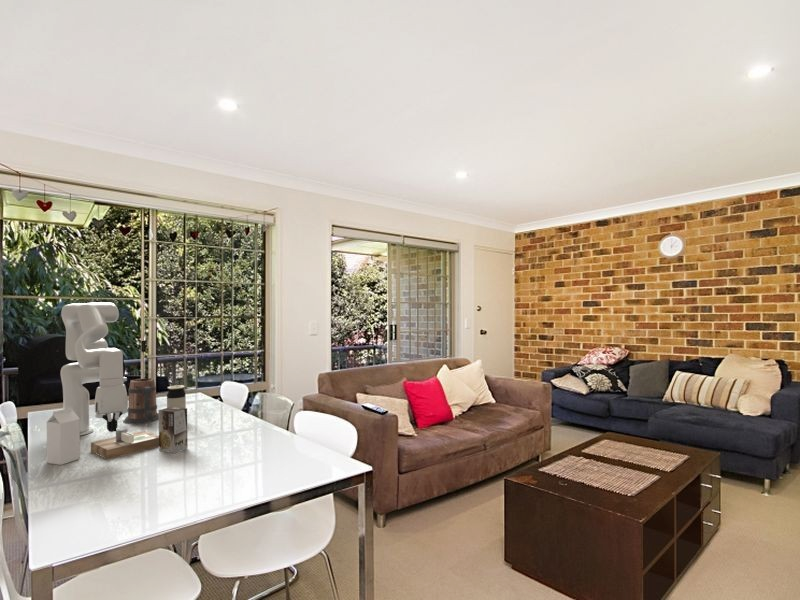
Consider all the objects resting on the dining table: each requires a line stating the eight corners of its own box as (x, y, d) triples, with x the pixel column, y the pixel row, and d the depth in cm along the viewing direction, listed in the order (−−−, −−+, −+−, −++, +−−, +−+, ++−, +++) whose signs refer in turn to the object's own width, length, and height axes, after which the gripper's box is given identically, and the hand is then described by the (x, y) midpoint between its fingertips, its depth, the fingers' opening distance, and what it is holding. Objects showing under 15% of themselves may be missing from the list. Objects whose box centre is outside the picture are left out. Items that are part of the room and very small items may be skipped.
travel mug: (169, 427, 214) (169, 388, 214) (165, 424, 220) (164, 386, 220) (187, 424, 219) (187, 386, 219) (182, 421, 225) (182, 384, 225)
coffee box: (188, 448, 182) (188, 408, 182) (174, 453, 177) (174, 411, 177) (172, 445, 186) (172, 406, 186) (158, 450, 180) (157, 409, 180)
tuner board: (91, 451, 181) (90, 441, 181) (144, 438, 196) (144, 430, 197) (107, 459, 171) (107, 449, 171) (162, 445, 187) (162, 436, 187)
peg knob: (114, 440, 182) (114, 430, 182) (125, 437, 185) (124, 428, 185) (125, 445, 175) (125, 434, 175) (136, 442, 179) (136, 432, 179)
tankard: (119, 419, 230) (119, 379, 230) (156, 413, 241) (156, 375, 241) (129, 428, 213) (129, 385, 213) (169, 422, 224) (168, 381, 224)
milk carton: (80, 459, 172) (79, 408, 172) (60, 465, 165) (60, 412, 165) (66, 457, 174) (66, 406, 174) (46, 463, 167) (46, 411, 167)
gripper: (128, 378, 182) (129, 425, 181) (84, 384, 170) (85, 434, 169) (136, 380, 177) (137, 428, 177) (92, 386, 165) (93, 437, 165)
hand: (112, 431), depth 173 cm, fingers closed
